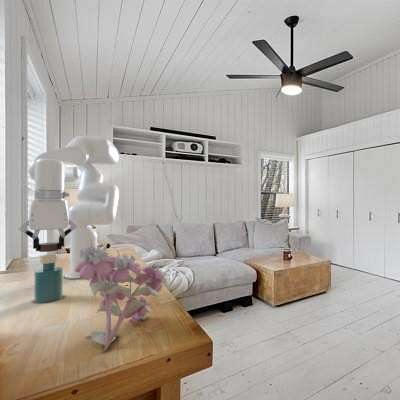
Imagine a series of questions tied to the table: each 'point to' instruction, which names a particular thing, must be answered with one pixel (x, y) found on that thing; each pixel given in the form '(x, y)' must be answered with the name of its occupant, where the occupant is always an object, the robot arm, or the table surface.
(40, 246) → the brown round puck
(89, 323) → the table surface
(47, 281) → the bottle
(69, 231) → the robot arm
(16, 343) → the table surface
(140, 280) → the flower
